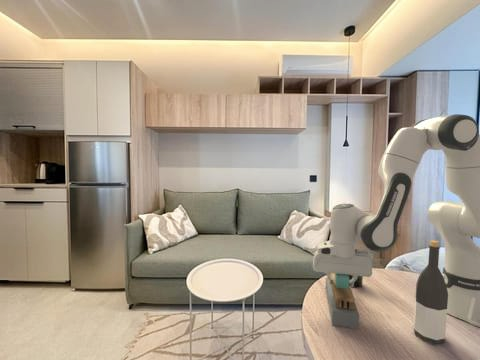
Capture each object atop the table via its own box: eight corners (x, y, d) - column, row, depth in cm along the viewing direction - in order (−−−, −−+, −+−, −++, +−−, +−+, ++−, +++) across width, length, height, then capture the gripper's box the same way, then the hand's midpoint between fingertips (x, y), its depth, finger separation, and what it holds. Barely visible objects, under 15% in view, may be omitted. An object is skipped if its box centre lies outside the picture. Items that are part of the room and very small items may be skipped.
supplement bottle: (358, 280, 114) (360, 254, 113) (364, 287, 107) (366, 260, 106) (343, 279, 115) (344, 253, 114) (348, 287, 108) (349, 259, 107)
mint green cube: (346, 283, 92) (347, 273, 92) (348, 289, 89) (349, 278, 88) (335, 282, 93) (335, 272, 93) (336, 287, 89) (337, 276, 89)
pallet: (344, 282, 102) (344, 273, 102) (354, 309, 82) (354, 298, 82) (329, 280, 103) (330, 271, 103) (336, 307, 84) (336, 296, 84)
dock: (345, 291, 104) (346, 279, 104) (358, 329, 81) (358, 314, 81) (325, 288, 106) (325, 277, 106) (332, 325, 83) (332, 310, 82)
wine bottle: (421, 343, 75) (427, 244, 72) (407, 325, 83) (413, 236, 80) (451, 346, 73) (459, 246, 71) (435, 328, 81) (441, 237, 79)
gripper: (370, 247, 92) (369, 283, 93) (313, 243, 97) (312, 277, 98) (375, 253, 86) (374, 292, 87) (313, 248, 91) (312, 285, 92)
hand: (340, 284), depth 93 cm, fingers closed on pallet, 5 cm apart
